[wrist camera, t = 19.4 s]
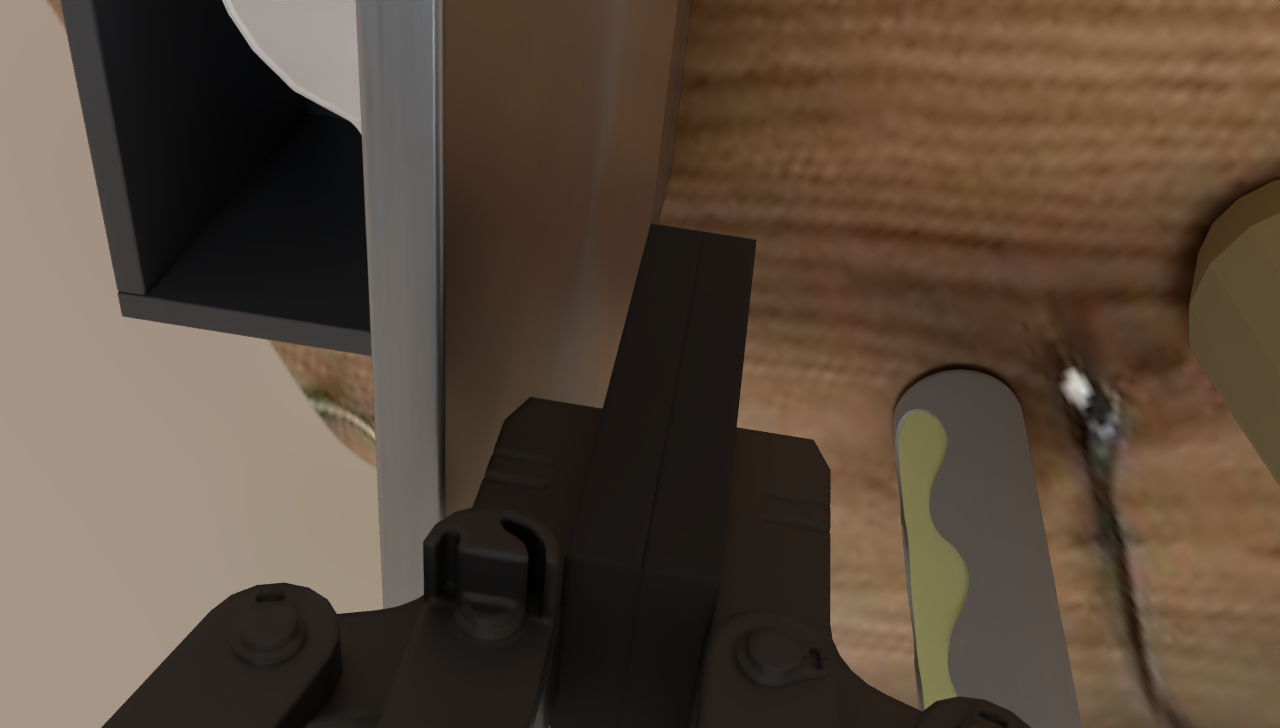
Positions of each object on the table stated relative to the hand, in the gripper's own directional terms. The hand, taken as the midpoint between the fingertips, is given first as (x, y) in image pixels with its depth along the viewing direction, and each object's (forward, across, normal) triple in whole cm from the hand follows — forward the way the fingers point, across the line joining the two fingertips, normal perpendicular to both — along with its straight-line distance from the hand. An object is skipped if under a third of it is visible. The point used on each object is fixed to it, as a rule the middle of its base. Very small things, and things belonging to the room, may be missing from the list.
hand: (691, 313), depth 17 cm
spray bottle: (+23, +10, -18) cm, 31 cm away
